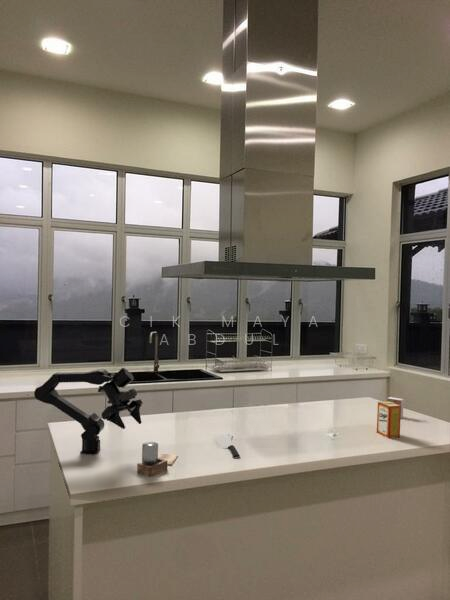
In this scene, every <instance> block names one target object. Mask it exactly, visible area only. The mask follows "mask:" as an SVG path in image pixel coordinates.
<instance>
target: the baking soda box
mask: <svg viewBox="0 0 450 600" xmlns="http://www.w3.org/2000/svg"><path fill="white" fill-rule="evenodd" d="M376 415H377V417H376V418H377V419H376V433H377V434H378V433H379V435H381V436H383V437H385V436H386V437H385V438H387V437H388V438H387V439H391V438H390V437H399V438H401V419H402V418H401V406H400V405H397V404H395V403H393V402H389V401H387V400H386V401H377V414H376Z"/></svg>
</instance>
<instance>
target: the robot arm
mask: <svg viewBox="0 0 450 600" xmlns="http://www.w3.org/2000/svg"><path fill="white" fill-rule="evenodd" d="M134 380H135V377H134V375H133V374H132V372H130V371H129V370H128V369H126V368H125V367H122V368H120V369H119V371H118V372H116V373H112V372H109V371H108V370H107V369H105V368H98V369H94V370H91V371H80V372H78V371H77V372H60V371H59V372H55V373H54V374H52V375H51V376H50V377H49V378H48V380H46V381H45V382H44V383H43V384H42V385H39V386H38V387H36V388H35V389H34V393H33V394H34V398H35V399H36V400H37V401H39V402H42V403H44V404H48V405H52V406H53V407H55V408H56V409H58V410H60V411H61V412H62V413H64V414H65V415H67V416H69V417H70V418H71V419H73V420H74V421H76V422H78V423H79V424H80V426H81V427H82V429H83V430H84V431H83V432H82V433H81V434H80V437H81V442H82V443H81V444H82V445H81V450H80V454H90V455H95V454H97V453H98V452H99V451H100V450H101V439H100V433H101V432H102V431H103V430H104V428H105V420H106V421H109V423H110V422H111V423H113V424H114V425H116V426H117V427H119V428H121V429H122V430H124V429H126V426H125V424H124V422H123V420H122V418H121V416H120V412H123V411H128V412H129V415H130V416H131V417H132V419H134V421H136V422H137V424H139V425H141V424H142V419H141V418H142V417H141V412H140V409H141V407H142V405H143V401H142V399H140V398H137V395H138V393H137V390H136V389H135V388H131V389H128V391H126V392H124V391H121V390H120V389H119V388H122V389H123V388H126V386H129V384H130V383H131V382H132V381H134ZM60 383H61V384H62V383H87V384H89V385H90V384H91V385H97V386H99V387H98V390H97V392H98V393H100V394H101V393H102V394H103V393H104V394H105V396H106V398H107V399H108V401H107V404H108V406H107V407H105V409H104V410H103V411H102V412H101V416H99V415H98V414H97V413H95V412H93V413H92V414H88V413H86V412H84V411H83V410H81V409H80V408H79V407H77V406H75V405H74V404H72V403H71V402H70V401H68V399H65V398H64V397H62V396H61V395H60V394H59V392H58V390H56V387H58V385H60ZM136 398H137V399H136ZM131 400H132V401H131Z"/></svg>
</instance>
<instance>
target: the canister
mask: <svg viewBox="0 0 450 600" xmlns="http://www.w3.org/2000/svg"><path fill="white" fill-rule="evenodd" d="M141 447H142V448H141V451H142V452H141V463H142V464H145V465H148V466H152V465H155V464H157V463H158V453H159V443H158V442H155V441H147V442H144V443H142V445H141Z"/></svg>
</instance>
